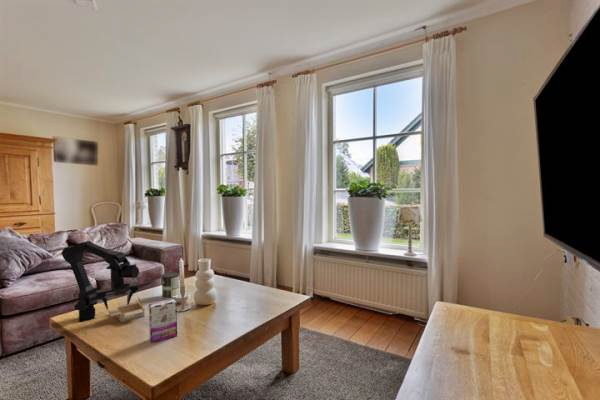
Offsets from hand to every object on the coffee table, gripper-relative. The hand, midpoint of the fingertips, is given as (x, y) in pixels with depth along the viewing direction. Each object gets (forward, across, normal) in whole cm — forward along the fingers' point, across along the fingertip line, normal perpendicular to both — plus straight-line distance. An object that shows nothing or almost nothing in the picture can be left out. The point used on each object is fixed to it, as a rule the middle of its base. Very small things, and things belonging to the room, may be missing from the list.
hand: (117, 307), depth 151 cm
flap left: (+2, +6, +6) cm, 9 cm away
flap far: (+2, +11, +1) cm, 12 cm away
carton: (+7, +4, -1) cm, 8 cm away
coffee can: (+7, +32, +17) cm, 37 cm away
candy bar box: (+7, +12, -35) cm, 38 cm away
